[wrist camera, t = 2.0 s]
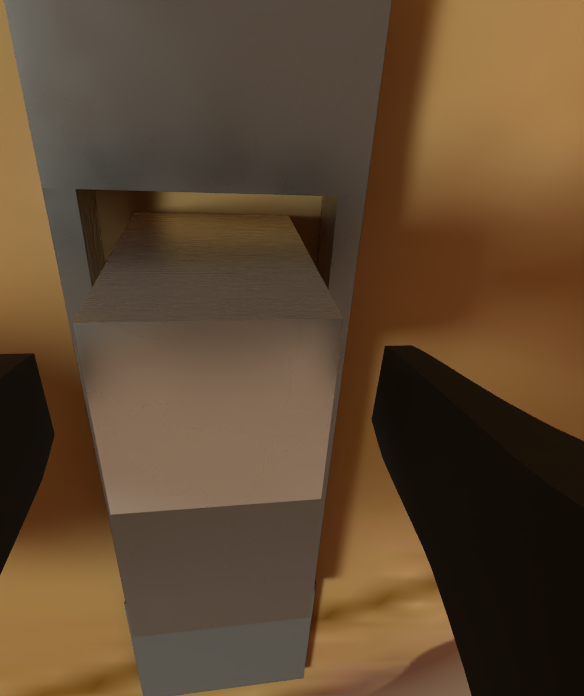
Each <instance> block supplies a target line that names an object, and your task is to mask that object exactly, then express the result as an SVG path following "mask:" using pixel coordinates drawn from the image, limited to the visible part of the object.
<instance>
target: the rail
mask: <svg viewBox="0 0 584 696" xmlns="http://www.w3.org/2000/svg"><path fill="white" fill-rule="evenodd" d="M4 2H5V7H6V12H7V17H8V22H9V27H10V32H11V37H12V42H13V47H14V52H15V57H16V62H17V67H18V72H19V77H20V82H21V86H22V91H23V96H24V101H25V106H26V111H27V116H28V121H29V126H30V131H31V136H32V141H33V146H34V151H35V156H36V161H37V166H38V171H39V176H40V181H41V186H42V190H43V195H44V200H45V205H46V210H47V215H48V220H49V225H50V230H51V235H52V240H53V245H54V250H55V255H56V260H57V265H58V270H59V275H60V280H61V285H62V290H63V294H64V299H65V304H66V309H67V314H68V319H69V324H70V329H71V334H72V339H73V344H74V349H75V354H76V359H77V364H78V369H79V374H80V379H81V384H82V389H83V394H84V398H85V403H86V408H87V413H88V418H89V423H90V428H91V433H92V438H93V443H94V448H95V453H96V458H97V463H98V468H99V473H100V478H101V483H102V488H103V493H104V498H105V502H106V507H107V512H108V517H109V522H110V527H111V532H112V537H113V542H114V547H115V552H116V557H117V562H118V567H119V572H120V577H121V582H122V587H123V592H124V597H125V602H126V606H127V611H128V616H129V621H130V626H131V631H132V636H133V637H142V636H151V635H160V634H168V633H177V632H186V631H194V630H203V629H212V628H221V627H229V626H238V625H247V624H256V623H264V622H273V621H282V620H290V619H299V618H308V617H310V613H311V606H312V598H313V591H314V583H315V576H316V568H317V561H318V553H319V546H320V538H321V531H322V523H323V515H324V508H325V500H326V493H327V485H328V478H329V470H330V463H331V455H332V448H333V440H334V432H335V425H336V417H337V410H338V402H339V395H340V387H341V380H342V372H343V365H344V357H345V349H346V342H347V334H348V327H349V319H350V312H351V304H352V297H353V289H354V282H355V274H356V267H357V259H358V251H359V244H360V236H361V229H362V221H363V214H364V206H365V199H366V191H367V184H368V176H369V168H370V161H371V153H372V146H373V138H374V131H375V123H376V116H377V108H378V101H379V93H380V86H381V78H382V70H383V63H384V55H385V48H386V40H387V33H388V25H389V18H390V10H391V3H392V0H4ZM94 190H129V191H166V192H203V193H240V194H277V195H314V196H323V201H322V212H321V224H320V235H319V246H318V258H317V270H318V272H319V274H320V275H321V277H322V279H323V281H324V283H325V285H326V287H327V289H328V290H329V292H330V294H331V296H332V298H333V300H334V302H335V304H336V305H337V307H338V309H339V311H340V313H341V315H342V317H343V319H344V320H343V328H342V336H341V344H340V352H339V360H338V368H337V376H336V384H335V392H334V400H333V408H332V416H331V424H330V432H329V440H328V448H327V456H326V463H325V471H324V479H323V487H322V495H321V499H313V500H300V501H287V502H273V503H260V504H246V505H233V506H220V507H206V508H193V509H179V510H166V511H153V512H139V513H126V514H113V515H110V510H109V504H108V499H107V494H106V489H105V484H104V479H103V474H102V469H101V464H100V459H99V454H98V449H97V444H96V439H95V434H94V429H93V423H92V418H91V413H90V408H89V403H88V398H87V393H86V388H85V383H84V378H83V373H82V368H81V363H80V358H79V353H78V348H77V342H76V337H75V332H74V327H73V321H74V319H75V318H76V316H77V314H78V312H79V310H80V309H81V307H82V305H83V303H84V301H85V300H86V298H87V296H88V294H89V292H90V291H91V289H92V287H93V285H94V283H95V282H96V280H97V278H98V276H99V274H100V273H101V271H102V269H103V267H104V265H105V261H104V254H103V247H102V241H101V234H100V227H99V220H98V214H97V207H96V200H95V194H94Z"/></svg>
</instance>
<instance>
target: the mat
mask: <svg viewBox="0 0 584 696" xmlns="http://www.w3.org/2000/svg"><path fill="white" fill-rule="evenodd" d="M315 588H316V581H315V583H314V591H313V598H312V606H311V613H310V617H308V618H299V619H290V620H282V621H273V622H264V623H256V624H247V625H238V626H229V627H221V628H212V629H203V630H194V631H186V632H177V633H168V634H160V635H151V636H142V637H133V636H132V631H131V626H130V621H129V616H128V611H127V606H126V602H125V603H124V605H125V610H126V614H127V619H128V624H129V629H130V634H131V639H132V644H133V649H134V653H135V658H136V663H137V668H138V673H139V678H140V683H141V688H142V693H143V696H174V695H182V694H189V693H197V692H204V691H212V690H219V689H226V688H234V687H241V686H249V685H256V684H263V683H271V682H278V681H286V680H293V679H301V678H303V677H304V669H305V662H306V655H307V647H308V640H309V632H310V625H311V618H312V610H313V603H314V596H315Z"/></svg>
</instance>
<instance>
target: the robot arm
mask: <svg viewBox="0 0 584 696" xmlns="http://www.w3.org/2000/svg"><path fill="white" fill-rule="evenodd" d="M372 423H373V426H374V430H375V434H376V437H377V441H378V444H379V447H380V451H381V454H382V457H383V460H384V462H385V464H386V467H387V469H388V471H389V474H390V476H391V478H392V480H393V483H394V485H395V487H396V489H397V491H398V494H399V496H400V498H401V500H402V502H403V505H404V507H405V509H406V511H407V513H408V516H409V518H410V520H411V522H412V524H413V526H414V529H415V531H416V533H417V535H418V537H419V540H420V542H421V544H422V546H423V549H424V551H425V553H426V556H427V558H428V561H429V563H430V566H431V568H432V571H433V574H434V577H435V580H436V583H437V586H438V589H439V592H440V595H441V598H442V601H443V604H444V607H445V610H446V613H447V616H448V619H449V622H450V625H451V629H452V632H453V635H454V638H455V641H456V645H457V648H458V651H459V654H460V657H461V661H462V664H463V667H464V670H465V674H466V677H467V681H468V684H469V688H470V691H471V695H472V696H584V441H582V440H580V439H578V438H575V437H573V436H571V435H569V434H567V433H565V432H563V431H560V430H558V429H556V428H554V427H552V426H550V425H548V424H546V423H544V422H542V421H540V420H538V419H537V418H535V417H533V416H531V415H529V414H527V413H526V412H524V411H522V410H520V409H518V408H517V407H515V406H513V405H511V404H509V403H507V402H506V401H504V400H502V399H501V398H499V397H497V396H495V395H494V394H492V393H490V392H489V391H487V390H485V389H484V388H482V387H480V386H479V385H477V384H476V383H474V382H472V381H471V380H469V379H467V378H466V377H464V376H463V375H461V374H459V373H458V372H456V371H455V370H453V369H451V368H450V367H448V366H447V365H445V364H443V363H442V362H440V361H439V360H437V359H435V358H434V357H432V356H430V355H429V354H427V353H425V352H423V351H422V350H420V349H418V348H416V347H414V346H412V345H408V346H385V349H384V354H383V360H382V365H381V371H380V376H379V382H378V387H377V393H376V398H375V404H374V409H373V415H372ZM53 438H54V430H53V426H52V422H51V418H50V414H49V411H48V407H47V403H46V399H45V395H44V391H43V387H42V383H41V379H40V375H39V371H38V367H37V363H36V359H35V355H34V354H0V574H1V572H2V570H3V567H4V565H5V563H6V561H7V558H8V556H9V554H10V552H11V549H12V547H13V545H14V543H15V540H16V538H17V536H18V534H19V531H20V529H21V527H22V525H23V522H24V520H25V518H26V516H27V513H28V511H29V509H30V506H31V504H32V502H33V499H34V497H35V495H36V493H37V490H38V488H39V485H40V483H41V481H42V478H43V475H44V471H45V468H46V465H47V461H48V458H49V454H50V450H51V446H52V442H53Z"/></svg>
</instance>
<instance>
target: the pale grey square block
mask: <svg viewBox="0 0 584 696" xmlns="http://www.w3.org/2000/svg"><path fill="white" fill-rule="evenodd" d="M343 320H344V319H343V317H342V315H341V313H340V311H339V309H338V307H337V305H336V304H335V302H334V300H333V298H332V296H331V294H330V292H329V290H328V289H327V287H326V285H325V283H324V281H323V279H322V277H321V275H320V274H319V272H318V270H317V268H316V266H315V264H314V262H313V260H312V258H311V257H310V255H309V253H308V251H307V249H306V247H305V245H304V243H303V242H302V240H301V238H300V236H299V234H298V232H297V230H296V228H295V227H294V225H293V223H292V221H291V219H290V217H289V215H247V214H198V213H149V212H134V213H133V215H132V217H131V219H130V220H129V222H128V224H127V226H126V228H125V229H124V231H123V233H122V235H121V237H120V238H119V240H118V242H117V244H116V246H115V247H114V249H113V251H112V253H111V255H110V256H109V258H108V260H107V262H106V264H105V265H104V267H103V269H102V271H101V273H100V274H99V276H98V278H97V280H96V282H95V283H94V285H93V287H92V289H91V291H90V292H89V294H88V296H87V298H86V300H85V301H84V303H83V305H82V307H81V309H80V310H79V312H78V314H77V316H76V318H75V319H74V321H73V327H74V332H75V337H76V342H77V348H78V353H79V358H80V363H81V368H82V373H83V378H84V383H85V388H86V393H87V398H88V403H89V408H90V413H91V418H92V423H93V429H94V434H95V439H96V444H97V449H98V454H99V459H100V464H101V469H102V474H103V479H104V484H105V489H106V494H107V499H108V504H109V510H110V515H113V514H126V513H139V512H153V511H166V510H179V509H193V508H206V507H220V506H233V505H246V504H260V503H273V502H287V501H300V500H313V499H321V495H322V487H323V479H324V471H325V463H326V456H327V448H328V440H329V432H330V424H331V416H332V408H333V400H334V392H335V384H336V376H337V368H338V360H339V352H340V344H341V336H342V328H343Z"/></svg>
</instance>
